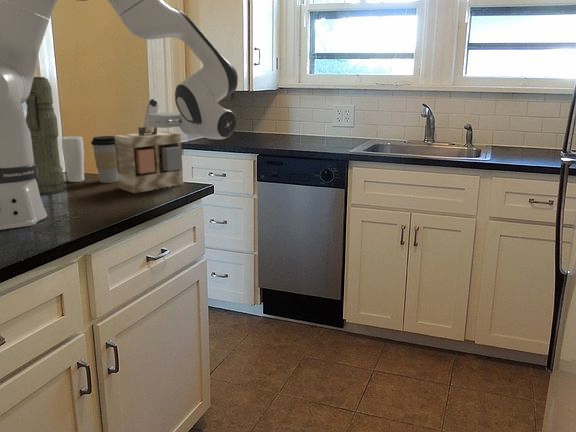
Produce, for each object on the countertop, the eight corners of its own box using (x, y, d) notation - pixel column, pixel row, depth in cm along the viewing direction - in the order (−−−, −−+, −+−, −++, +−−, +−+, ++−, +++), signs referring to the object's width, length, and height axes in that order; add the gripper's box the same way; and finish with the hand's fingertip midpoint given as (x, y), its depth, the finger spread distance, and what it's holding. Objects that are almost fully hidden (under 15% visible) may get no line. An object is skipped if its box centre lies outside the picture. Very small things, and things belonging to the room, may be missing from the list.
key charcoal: (168, 171, 179) (166, 149, 177) (156, 168, 184) (155, 146, 182) (181, 169, 182) (180, 147, 180) (169, 166, 187) (168, 145, 185)
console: (134, 193, 175) (129, 130, 170) (118, 188, 182) (113, 127, 177) (183, 184, 187) (180, 126, 182) (167, 180, 194) (163, 123, 189)
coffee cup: (115, 184, 188) (111, 139, 184) (89, 183, 190) (84, 138, 186) (127, 179, 197) (124, 136, 193) (102, 178, 199) (99, 135, 195)
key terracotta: (140, 173, 175) (139, 151, 173) (129, 170, 180) (128, 148, 178) (155, 171, 178) (153, 149, 176) (143, 168, 183) (142, 147, 181)
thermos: (28, 195, 172) (14, 77, 163) (40, 187, 184) (27, 76, 174) (58, 195, 173) (46, 77, 164) (68, 187, 184) (57, 76, 175)
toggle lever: (145, 134, 179) (151, 101, 173) (142, 130, 180) (147, 97, 174) (154, 133, 181) (160, 101, 174) (150, 129, 182) (156, 97, 176)
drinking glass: (79, 183, 190) (75, 138, 186) (61, 182, 191) (56, 138, 188) (90, 179, 196) (86, 136, 193) (72, 178, 198) (68, 135, 194)
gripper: (163, 134, 155) (138, 129, 164) (223, 128, 168) (197, 125, 178) (161, 110, 153) (137, 107, 163) (223, 107, 166) (196, 104, 176)
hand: (169, 116), depth 170 cm, fingers closed
